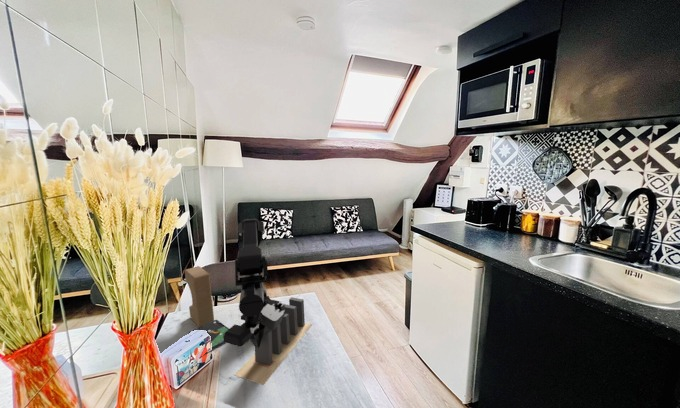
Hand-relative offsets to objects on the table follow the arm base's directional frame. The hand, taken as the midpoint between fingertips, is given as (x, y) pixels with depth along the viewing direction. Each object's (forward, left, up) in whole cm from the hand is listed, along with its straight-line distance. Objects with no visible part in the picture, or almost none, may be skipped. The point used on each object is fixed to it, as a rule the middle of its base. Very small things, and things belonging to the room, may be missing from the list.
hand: (257, 346), depth 80 cm
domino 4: (0, +22, -7) cm, 23 cm away
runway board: (0, +10, -8) cm, 13 cm away
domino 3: (0, +12, -7) cm, 14 cm away
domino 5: (0, +17, -7) cm, 18 cm away
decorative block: (-38, +14, -8) cm, 41 cm away
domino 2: (0, +7, -7) cm, 10 cm away
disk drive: (-25, +7, -9) cm, 27 cm away
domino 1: (0, +2, -7) cm, 7 cm away
